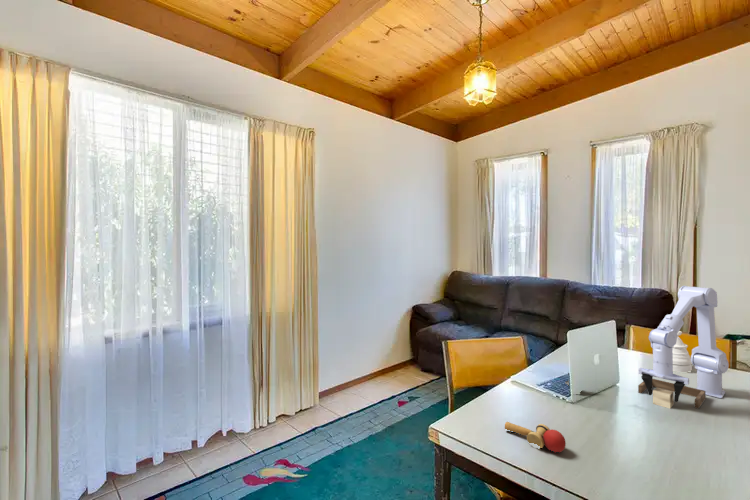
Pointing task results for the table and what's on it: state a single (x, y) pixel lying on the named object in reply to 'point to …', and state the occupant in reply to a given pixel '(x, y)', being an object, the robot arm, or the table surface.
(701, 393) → the open walnut frame
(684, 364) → the honey pot
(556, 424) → the table surface
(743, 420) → the table surface
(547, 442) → the kendama
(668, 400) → the maple block
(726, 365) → the robot arm
